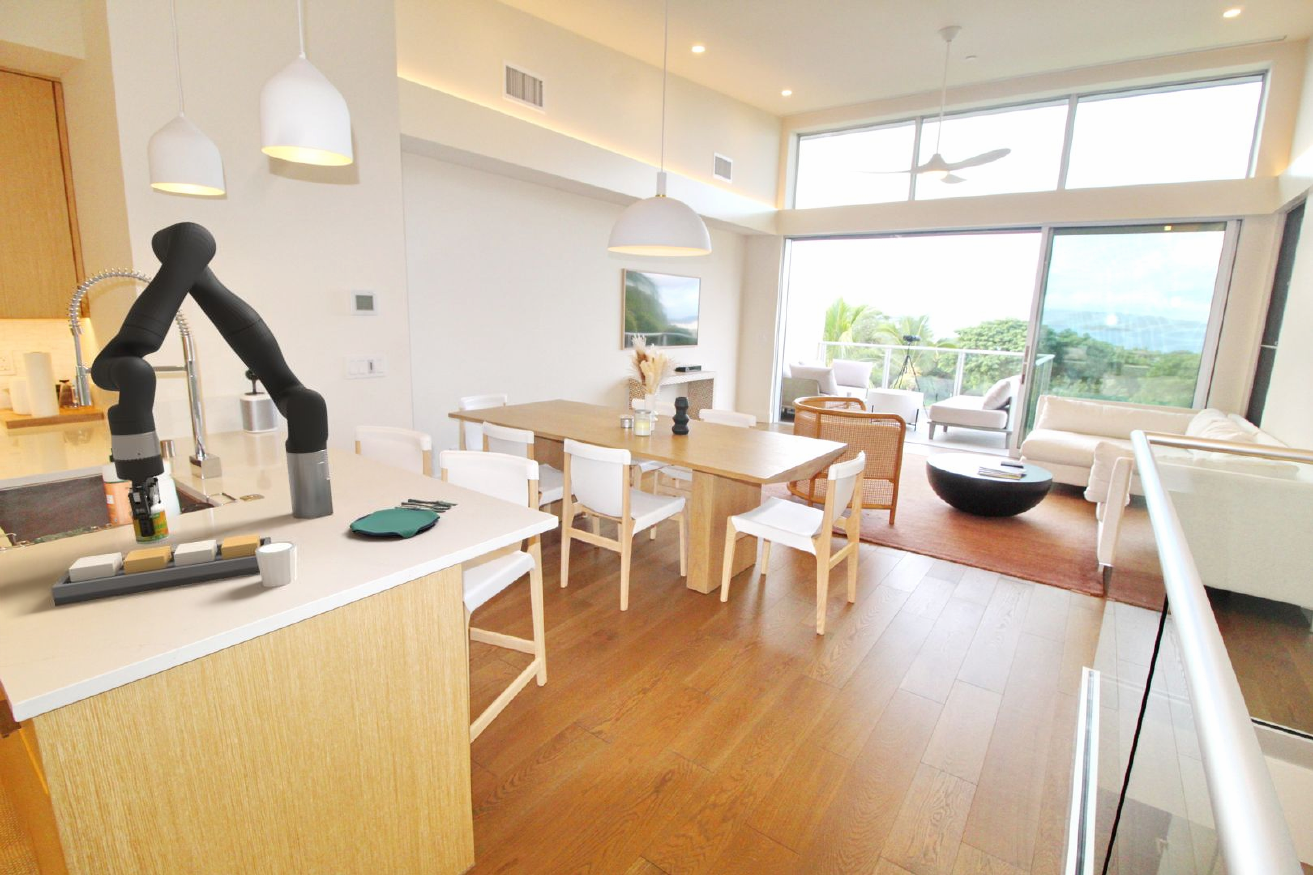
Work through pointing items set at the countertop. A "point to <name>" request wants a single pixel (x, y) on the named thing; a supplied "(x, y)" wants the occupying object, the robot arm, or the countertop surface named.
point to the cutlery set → (400, 519)
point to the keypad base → (154, 578)
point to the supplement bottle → (159, 525)
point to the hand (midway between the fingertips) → (151, 531)
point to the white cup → (277, 563)
